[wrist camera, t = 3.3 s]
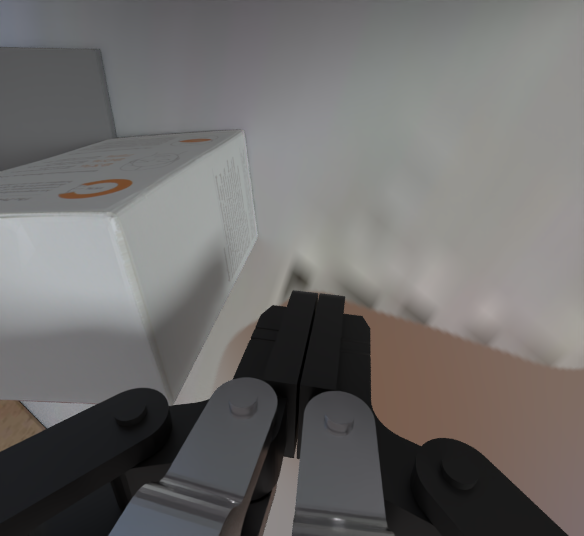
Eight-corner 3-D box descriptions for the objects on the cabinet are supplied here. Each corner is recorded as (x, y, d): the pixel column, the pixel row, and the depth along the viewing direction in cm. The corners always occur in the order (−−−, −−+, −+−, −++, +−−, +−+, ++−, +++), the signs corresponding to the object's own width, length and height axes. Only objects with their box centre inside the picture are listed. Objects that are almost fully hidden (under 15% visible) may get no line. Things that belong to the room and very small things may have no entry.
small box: (137, 242, 24) (-60, 402, 12) (106, 137, 21) (-191, 218, 9) (262, 239, 22) (174, 414, 11) (248, 127, 19) (108, 207, 8)
